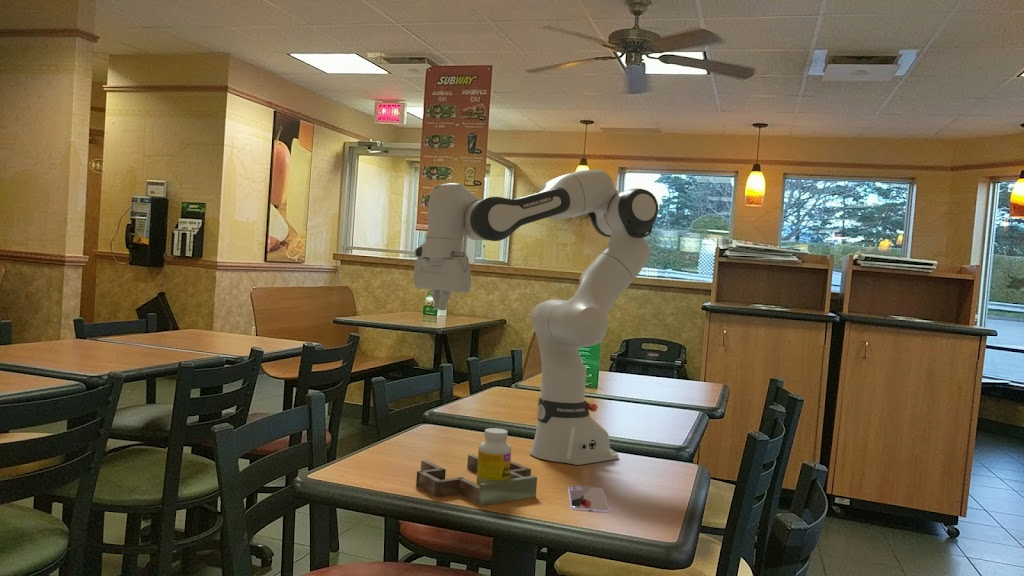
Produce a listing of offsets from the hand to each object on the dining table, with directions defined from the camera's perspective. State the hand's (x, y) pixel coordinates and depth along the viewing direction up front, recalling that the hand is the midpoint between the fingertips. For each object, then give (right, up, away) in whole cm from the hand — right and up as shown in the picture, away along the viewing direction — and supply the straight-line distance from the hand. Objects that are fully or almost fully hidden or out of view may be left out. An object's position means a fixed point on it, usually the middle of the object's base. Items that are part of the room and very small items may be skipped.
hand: (439, 309), depth 171 cm
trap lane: (+10, -36, -20) cm, 42 cm away
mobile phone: (+33, -38, -24) cm, 56 cm away
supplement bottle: (+13, -37, -25) cm, 46 cm away
